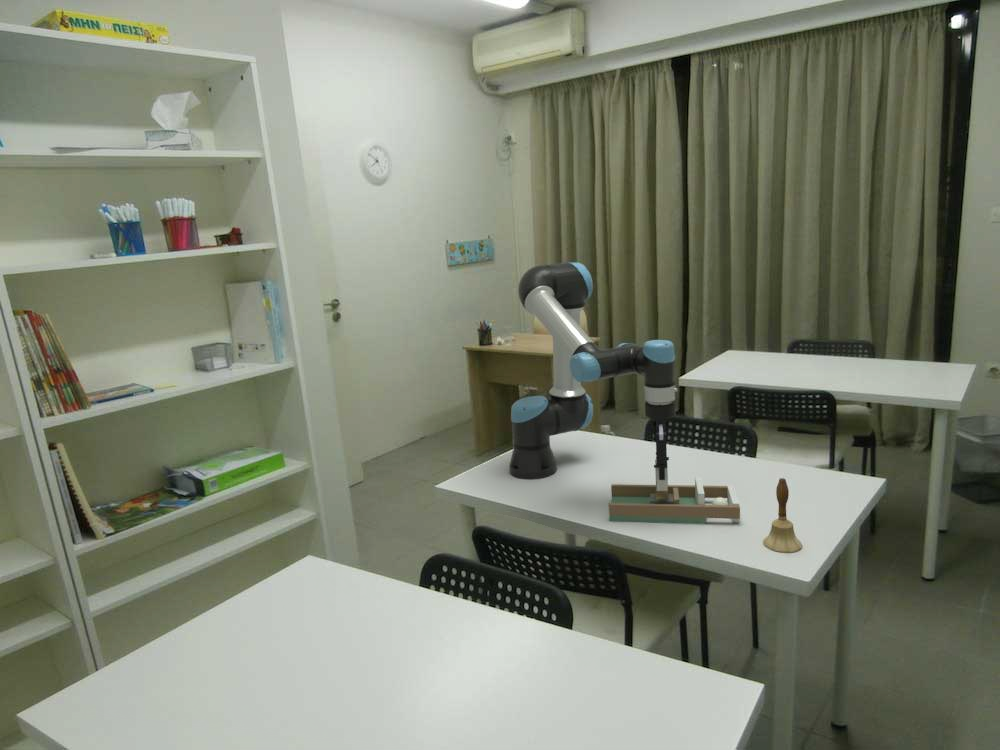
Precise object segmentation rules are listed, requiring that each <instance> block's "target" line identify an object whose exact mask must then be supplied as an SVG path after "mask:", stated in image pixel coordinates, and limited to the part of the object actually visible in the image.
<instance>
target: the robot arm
mask: <svg viewBox="0 0 1000 750" xmlns="http://www.w3.org/2000/svg"><path fill="white" fill-rule="evenodd" d="M593 290H594V285H593V279H592V275H591V273H590V271H589V270H588V268H587V267H586V266H585V264H583V263H581V262H560V263H552V264H542V265H541V264H539V265H535V266H533V267H531V268H529V269H528V270H526V272H524V273H523V275H522V277H521V278H520V280H519V284H518V289H517V291H518V293H517V294H518V298H519V301H520V303H521V305H522V307H523V308H524V309H525V310H526V312H528V313H529V314H531V315H534V316H535V317H536V318H537V320H538V321H539V322H540V323H541V324H542V325H543V327H544V328H545V329H546V330H547V332H548V333H549V334H550V335H551V337H552V356H553V357H552V360H553V361H552V363H553V364H552V365H553V387H552V388H550V389H549V391H548V397H549V398H547V397H546V396H543V395H534V396H533V395H531V396H525V397H523V398H520V399H517V400H515V402H514V403H513V404H512V405H511V410H510V411H511V412H510V420H511V430H512V431H511V432H512V441H513V442H512V446H513V449H512V454H511V458H510V462H509V474H510V475H511V476H514V477H515V478H519V479H528V480H533V479H534V480H535V479H542V478H546V477H550V476H551V475H554V474H555V473H556V472H557V470H558V467H557V465H558V464H557V460H556V458H555V456H554V453H553V449H552V447H551V442H550V441H551V439H550V438H551V437H552V436H556V435H561V434H566V433H570V432H577V431H579V430H582V429H585V428H587V427H588V426H589V425H590V424H591V422H592V419H593V417H594V405H593V403H592V401H593V400H592V398H591V397H590V396H589V394H588V393H587V392H586V389H585V388H584V387H583V386H582V383H587V382H595V381H599V380H605V379H609V378H614V377H615V378H616V377H620V376H626V375H631V374H636V375H641V376H644V400H645V403H644V404H645V405H644V408H645V409H644V410H645V411H644V413H645V414H644V415H645V416H646V417H647V418H649V419H651V420H652V419H654V421H652V431H653V440H654V442H655V450H656V452H655V455H656V457H655V460H657V464H656V465H655V464H654V465H653V468H656V470H655V477H656V476H657V491H668V486H667V471H668V461H669V460H670V457H669V456H667V454H668V453H667V442H669V431H670V430H669V429H670V425H669V421H666V420H667V419H672V418H674V417H675V416H676V402H675V400H676V392H678V388H677V387H676V386H675V385H676V382H675V381H676V372H675V371H676V370H675V369H676V368H675V367H676V366H675V365H676V364H675V360H676V355H675V348H674V347H675V346H674V343H673V342H672V341H671V340H666V339H663V340H662V339H652V340H648V341H647V340H646V341H645V342H644V343H643V345H640V344H636V343H633V342H629V343H628V342H623V343H620V344H618V345H617V346H616V347H612V348H611V347H610V348H604V349H601V348H599V347H598V345H597V344H596V343H595V342H594V341H593V340H592V339H591V338H590V337H589V335H588V334H587V333H586V331H584V330H583V328H582V327H581V312H582V310H584V308H585V307H586V300H588V299H589V298H590V297H591V296H592V293H593Z"/></svg>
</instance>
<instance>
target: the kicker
mask: <svg viewBox="0 0 1000 750" xmlns="http://www.w3.org/2000/svg"><path fill="white" fill-rule="evenodd" d="M654 462H655V464H654V465H656V464H657V459H655V460H654ZM655 471H656V468H655ZM668 478H669V477H668V470H667V486H668V485H669V483H668V482H669V481H668ZM655 485H656V494H650V504H679V494H678V488H673V494H668V491H657V476H656V475H655Z"/></svg>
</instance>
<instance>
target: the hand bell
mask: <svg viewBox="0 0 1000 750" xmlns="http://www.w3.org/2000/svg"><path fill="white" fill-rule="evenodd" d="M775 491H776V496H775V497H776V501H777V503H778V518H777V519H773V520H772V521H771V522H772V523H771V528H770V532H769V534H768V535H767V536H766V537H765V538H763V541H762V543H763V546H764V547H766V548H767V549H769V550H771V551H774V552H778V553H786V554H787V553H790V554H791V553H796V552H799V551H801V550H802V548H803V543H802V541H800V540H799V539H798V537H797V536H796V533H795V529H794V524H793V522H792V521H790V520H788V519H787V503H788V500H789V492H790V491H789V486H788V484H787V480H786V478H785V477H783V478H782V477H781V478H779V480H778V483H777V486H776V489H775Z"/></svg>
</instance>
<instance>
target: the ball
mask: <svg viewBox="0 0 1000 750" xmlns="http://www.w3.org/2000/svg"><path fill="white" fill-rule="evenodd" d="M711 505H728V502H727V498H722V497H718V498H713V501H712V503H711Z"/></svg>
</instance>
